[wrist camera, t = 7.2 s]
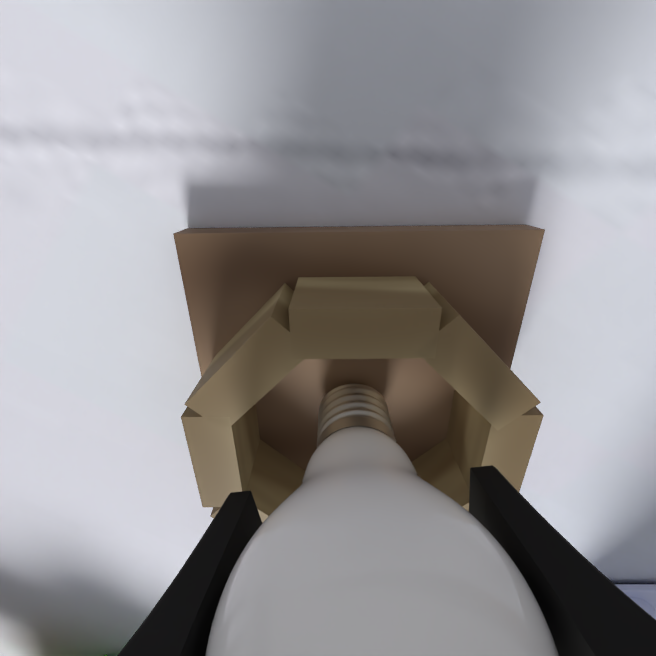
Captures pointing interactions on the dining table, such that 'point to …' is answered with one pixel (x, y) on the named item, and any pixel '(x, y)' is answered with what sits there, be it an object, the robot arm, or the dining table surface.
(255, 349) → the jig
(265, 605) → the lightbulb
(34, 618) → the dining table surface
